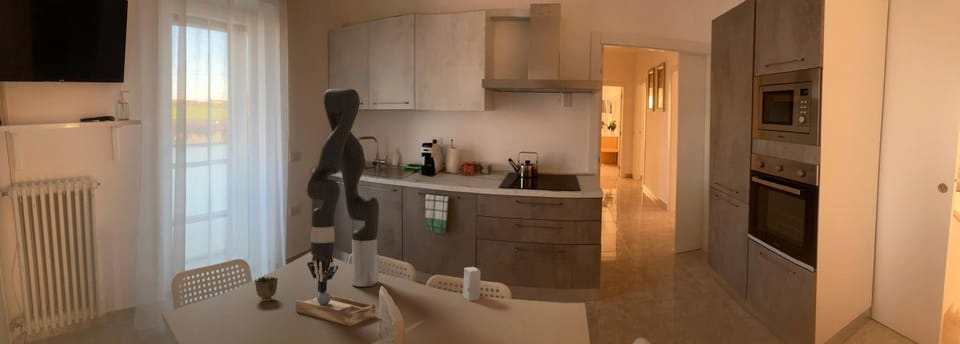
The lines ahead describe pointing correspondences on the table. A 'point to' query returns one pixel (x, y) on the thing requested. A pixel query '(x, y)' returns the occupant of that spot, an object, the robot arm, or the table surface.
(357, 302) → the tray
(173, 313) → the table surface
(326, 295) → the ball
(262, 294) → the cup
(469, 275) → the skincare box
